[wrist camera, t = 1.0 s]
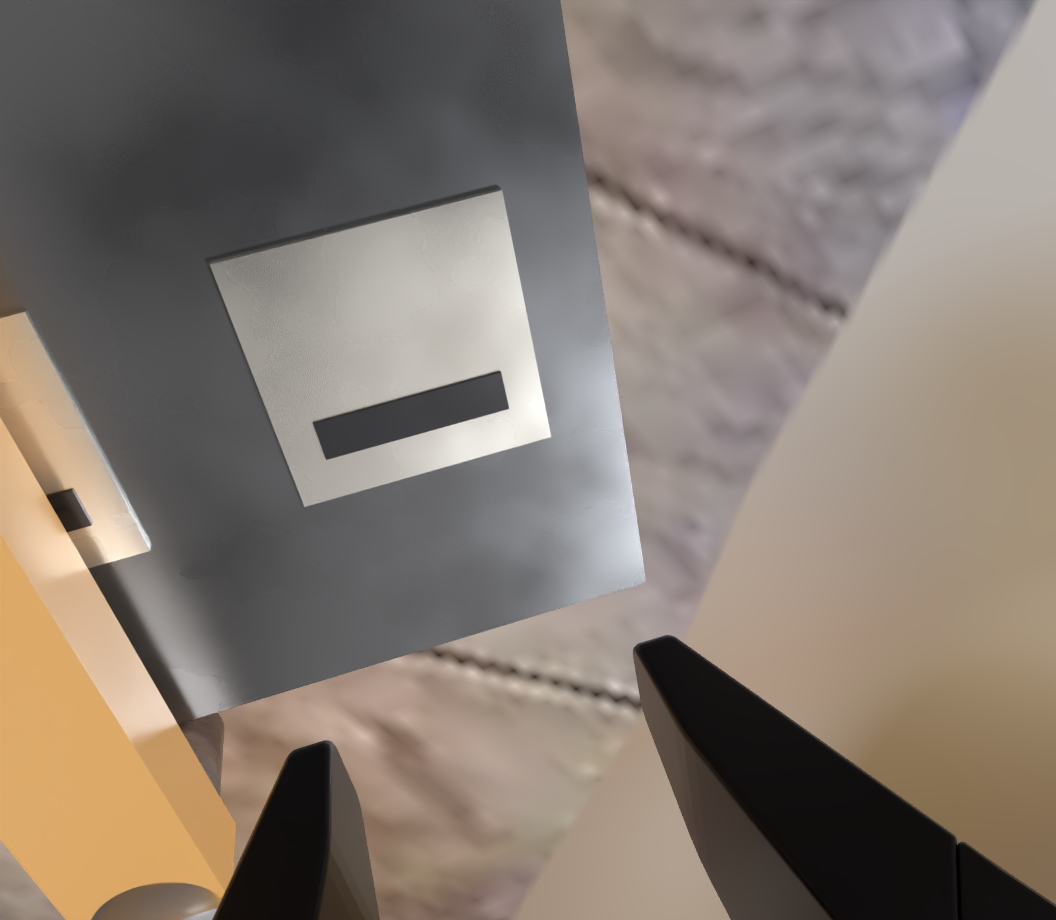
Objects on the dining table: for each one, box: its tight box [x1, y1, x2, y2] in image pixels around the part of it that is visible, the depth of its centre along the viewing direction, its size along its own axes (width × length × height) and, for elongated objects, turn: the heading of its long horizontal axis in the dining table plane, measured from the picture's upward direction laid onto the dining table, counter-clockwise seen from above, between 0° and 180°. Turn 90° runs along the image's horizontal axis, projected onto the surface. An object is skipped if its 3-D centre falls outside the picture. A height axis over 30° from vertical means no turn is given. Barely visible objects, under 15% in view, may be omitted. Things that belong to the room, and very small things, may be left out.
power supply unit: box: [0, 0, 646, 796], centre depth 19 cm, size 18×16×3 cm
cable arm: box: [0, 418, 236, 920], centre depth 16 cm, size 17×3×2 cm, turn 10°
